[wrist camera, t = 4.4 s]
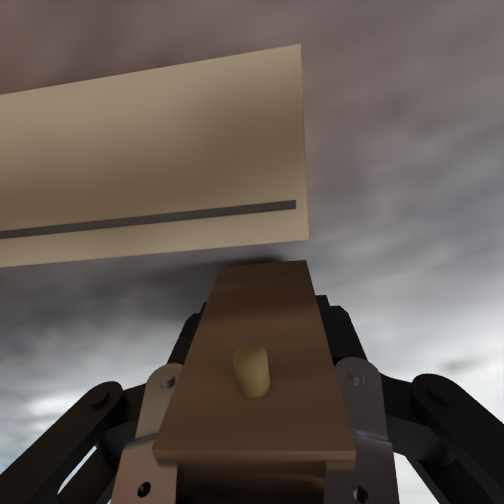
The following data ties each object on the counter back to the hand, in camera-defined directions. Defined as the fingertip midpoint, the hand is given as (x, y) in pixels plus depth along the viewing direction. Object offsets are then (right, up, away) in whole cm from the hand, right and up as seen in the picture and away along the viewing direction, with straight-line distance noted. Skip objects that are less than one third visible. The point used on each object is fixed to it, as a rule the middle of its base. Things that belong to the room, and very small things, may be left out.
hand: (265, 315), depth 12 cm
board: (-10, +6, 0) cm, 11 cm away
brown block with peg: (0, +1, +1) cm, 1 cm away
